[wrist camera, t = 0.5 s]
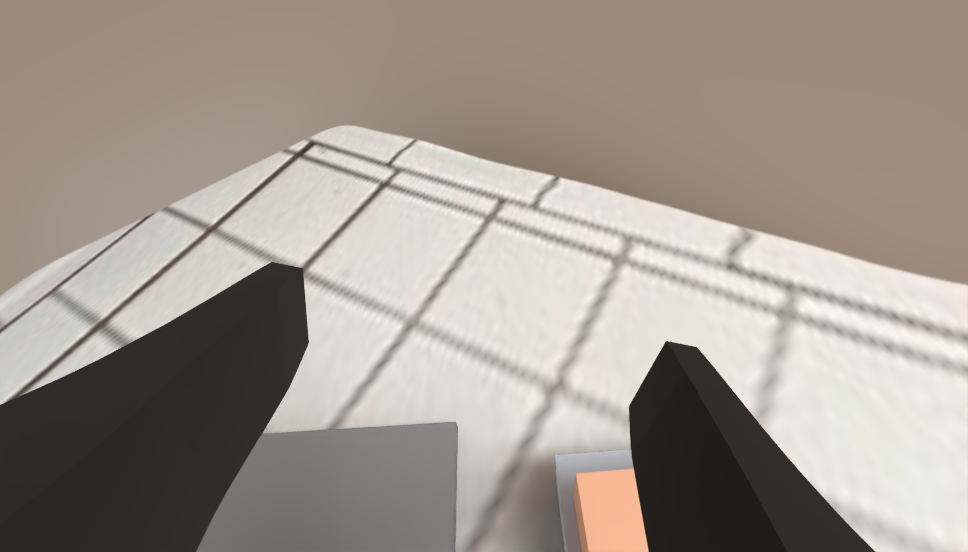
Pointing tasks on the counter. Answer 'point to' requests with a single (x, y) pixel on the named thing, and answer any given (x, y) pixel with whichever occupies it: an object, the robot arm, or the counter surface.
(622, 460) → the blue brick
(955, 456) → the counter surface
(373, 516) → the slate mat
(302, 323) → the robot arm
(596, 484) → the terracotta brick
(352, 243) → the counter surface
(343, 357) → the counter surface
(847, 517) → the counter surface
